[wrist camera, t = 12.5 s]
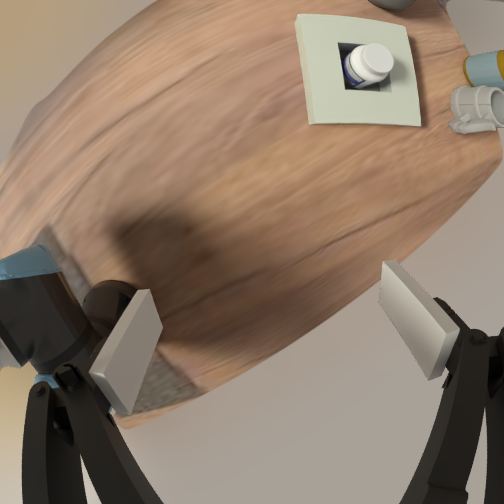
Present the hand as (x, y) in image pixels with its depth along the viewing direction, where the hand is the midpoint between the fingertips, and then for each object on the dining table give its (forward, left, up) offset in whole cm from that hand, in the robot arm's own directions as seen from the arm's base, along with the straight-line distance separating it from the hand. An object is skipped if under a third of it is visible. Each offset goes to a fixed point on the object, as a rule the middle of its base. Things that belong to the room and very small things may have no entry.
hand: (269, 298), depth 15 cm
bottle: (+42, +22, -27) cm, 54 cm away
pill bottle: (+16, +18, -26) cm, 35 cm away
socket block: (+16, +18, -26) cm, 35 cm away
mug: (+36, +13, -27) cm, 46 cm away
